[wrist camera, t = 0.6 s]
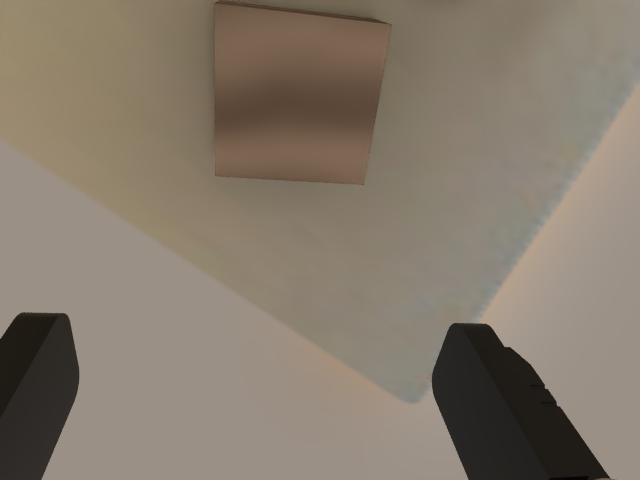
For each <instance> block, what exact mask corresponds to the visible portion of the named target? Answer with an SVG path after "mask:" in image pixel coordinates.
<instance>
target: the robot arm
mask: <svg viewBox="0 0 640 480" xmlns="http://www.w3.org/2000/svg"><path fill="white" fill-rule="evenodd" d="M78 384H79V366H78V361H77V355H76V350H75V346H74V340H73V335H72V330H71V325H70V320H69V318H68V316H67V315H66V314H64V313H25V312H24V313H20V314H19V315H17V316H16V318H15V319H14V320H13V322H12V323H11V325H10V326H9V327H8V329H7V330H6V332H5V333H4V335H3V336H2V338H1V339H0V480H41V479H42V477H43V474H44V472H45V470H46V467H47V465H48V463H49V460H50V458H51V455H52V453H53V450H54V448H55V446H56V444H57V441H58V439H59V436H60V434H61V432H62V429H63V427H64V425H65V422H66V420H67V417H68V415H69V412H70V410H71V408H72V405H73V403H74V401H75V398H76V394H77V390H78ZM432 389H433V394H434V397H435V400H436V403H437V405H438V407H439V410H440V412H441V414H442V417H443V419H444V422H445V424H446V426H447V429H448V431H449V434H450V436H451V438H452V441H453V443H454V446H455V448H456V450H457V453H458V455H459V458H460V460H461V462H462V465H463V467H464V470H465V472H466V474H467V477H468V479H469V480H614V479H610V477H609V476H608V475H607V473H606V472H605V471H604V469H603V468H602V466H601V465H600V463H599V462H598V461H597V459H596V458H595V456H594V455H593V453H592V452H591V450H590V449H589V448H588V446H587V445H586V443H585V442H584V440H583V439H582V438H581V436H580V435H579V433H578V432H577V430H576V429H575V428H574V426H573V425H572V423H571V422H570V420H569V419H568V418H567V416H566V415H565V413H564V412H563V410H562V409H561V408H560V407H558V406H557V404H556V403H557V402H556V400H555V399H554V398H553V396H552V395H551V393H550V392H549V391H548V389H545V385H544V383H543V382H542V380H541V379H540V377H539V376H538V374H537V373H536V372H535V370H534V369H533V367H532V366H531V365H530V364H529V363H528V362H527V361H526V360H525V359H523V358H522V357H521V356H520V355H519V354H518V353H516V352H515V351H514V350H513V349H512V348H510V347H504V346H503V344H502V342H501V341H500V340H499V338H498V337H497V335H496V333H495V332H494V331H493V329H492V328H491V327H490V326H489V325H487V324H474V323H454V324H452V325H451V326H450V327H449V329H448V332H447V335H446V337H445V340H444V343H443V345H442V348H441V351H440V353H439V356H438V359H437V361H436V364H435V367H434V370H433V374H432Z"/></svg>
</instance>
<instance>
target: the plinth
mask: <svg viewBox="0 0 640 480" xmlns="http://www.w3.org/2000/svg"><path fill="white" fill-rule="evenodd" d="M391 26H392V25H391V24H388V23H385V22H382V21H379V20H375V19H367V18H359V17H351V16H343V15H334V14H326V13H318V12H310V11H301V10H293V9H285V8H277V7H269V6H260V5H252V4H244V3H236V2H228V1H218V2H216V3H214V31H215V176H222V177H239V178H256V179H273V180H290V181H307V182H324V183H341V184H358V185H364V181H365V175H366V169H367V164H368V158H369V152H370V146H371V141H372V135H373V129H374V123H375V118H376V112H377V106H378V100H379V95H380V89H381V83H382V77H383V72H384V66H385V60H386V54H387V49H388V43H389V37H390V31H391Z"/></svg>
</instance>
